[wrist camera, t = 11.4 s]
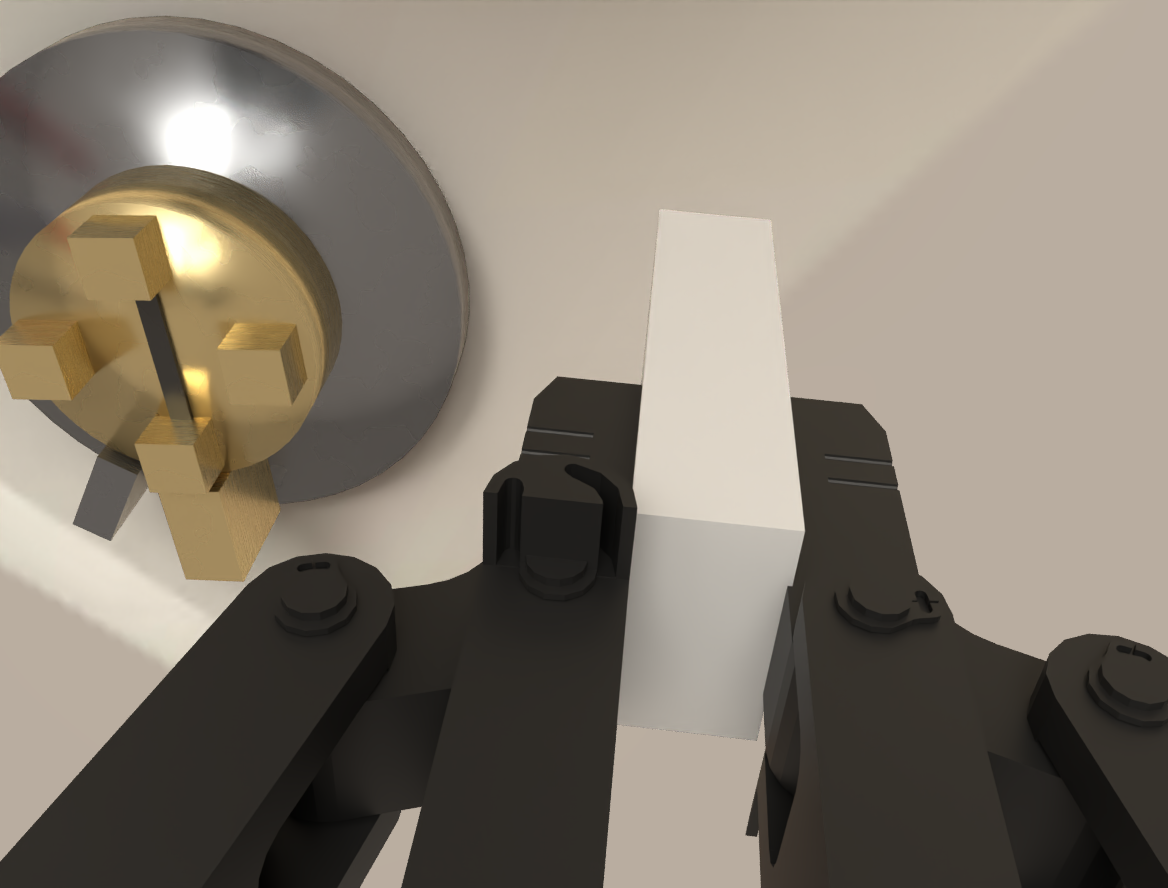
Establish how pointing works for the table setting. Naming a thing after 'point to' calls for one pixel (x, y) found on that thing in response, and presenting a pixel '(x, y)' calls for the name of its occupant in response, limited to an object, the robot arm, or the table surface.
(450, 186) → the table surface
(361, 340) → the cap plate
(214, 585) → the table surface
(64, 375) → the brass disc with pegs
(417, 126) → the table surface
